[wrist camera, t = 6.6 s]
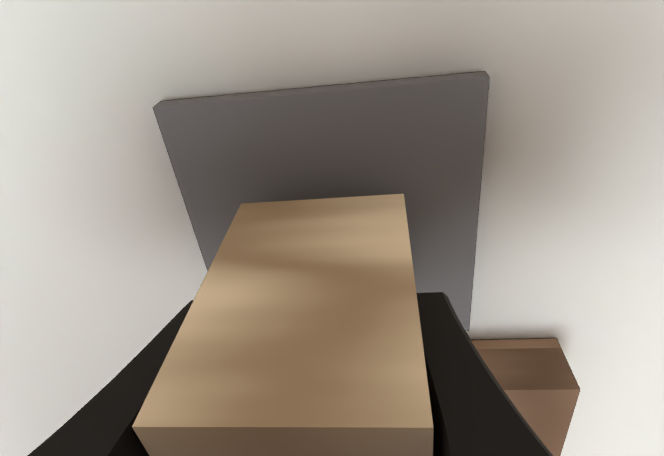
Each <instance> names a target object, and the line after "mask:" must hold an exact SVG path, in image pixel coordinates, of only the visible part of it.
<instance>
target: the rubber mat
mask: <svg viewBox="0 0 664 456" xmlns="http://www.w3.org/2000/svg"><path fill="white" fill-rule="evenodd" d="M489 78H490V77H489V76H488V74H487V73H486V72H485V71H482V72H471V73H461V74H450V75H439V76H428V77H417V78H406V79H396V80H385V81H374V82H363V83H352V84H341V85H330V86H320V87H309V88H298V89H287V90H276V91H265V92H255V93H244V94H233V95H222V96H211V97H200V98H189V99H179V100H168V101H160V102H159V103H158V104H156V105H155V106H154V107H153V110H154V113H155V116H156V119H157V122H158V125H159V128H160V131H161V134H162V137H163V140H164V143H165V146H166V149H167V152H168V155H169V158H170V161H171V164H172V167H173V170H174V173H175V176H176V179H177V182H178V185H179V187H180V190H181V193H182V196H183V199H184V202H185V205H186V208H187V211H188V214H189V217H190V220H191V223H192V226H193V229H194V232H195V235H196V238H197V241H198V244H199V247H200V250H201V253H202V256H203V259H204V262H205V265H206V268H207V271H208V270H209V268H210V266H211V264H212V262H213V260H214V258H215V256H216V254H217V252H218V250H219V248H220V245H221V243H222V241H223V239H224V237H225V235H226V233H227V231H228V229H229V227H230V225H231V223H232V221H233V219H234V217H235V215H236V213H237V211H238V209H239V207H240V205H241V204H243V203H259V202H276V201H292V200H308V199H324V198H341V197H357V196H373V195H390V194H404V199H405V207H406V215H407V223H408V231H409V239H410V247H411V254H412V262H413V270H414V278H415V286H416V293H428V292H443V293H444V294H446V295H447V296H448V298H449V300H450V302H451V305H452V307H453V309H454V311H455V313H456V315H457V317H458V318H459V320H460V322H461V324H462V326H463V328H464V329H465V331H469V325H470V312H471V300H472V288H473V275H474V263H475V251H476V238H477V226H478V214H479V201H480V189H481V177H482V164H483V152H484V140H485V127H486V115H487V102H488V90H489Z"/></svg>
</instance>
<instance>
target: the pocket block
mask: <svg viewBox="0 0 664 456" xmlns="http://www.w3.org/2000/svg"><path fill="white" fill-rule="evenodd" d="M471 341H472V343H473V345H474V346H475V348H476V349H477V351H478V353H479V354H480V356H481V357H482V359H483V360H484V362H485V363H486V365H487V366H488V368H489V369H490V371H491V372H492V374H493V375H494V377H495V378H496V380H497V381H498V383H499V384H500V386H501V387H502V389H503V390H504V392H505V393H506V394H507V396H508V397H509V399H510V400H511V401H512V403H513V404H514V406H515V407H516V408H517V410H518V411H519V412H520V414H521V415H522V416H523V418H524V419H525V420H526V422H527V423H528V424H529V426H530V427H531V428H532V430H533V431H534V432H535V433H536V435H537V436H538V437H539V439H540V440H541V441H542V442H543V444H544V445H545V446H546V447H547V449H548V450H549V451H550V452H551V454H552V455H553V456H560V455H561V451H562V448H563V445H564V442H565V438H566V435H567V432H568V428H569V425H570V422H571V418H572V415H573V412H574V409H575V405H576V402H577V399H578V395H579V392H580V388H579V386H578V383H577V381H576V379H575V377H574V375H573V373H572V370H571V368H570V366H569V364H568V362H567V360H566V357H565V355H564V353H563V351H562V349H561V347H560V344H559V342H558V340H557V339H508V340H471Z"/></svg>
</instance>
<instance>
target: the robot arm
mask: <svg viewBox="0 0 664 456" xmlns="http://www.w3.org/2000/svg"><path fill="white" fill-rule="evenodd" d="M416 294H417V302H418V309H419V317H420V325H421V333H422V341H423V349H424V357H425V365H426V372H427V380H428V388H429V396H430V404H431V412H432V420H433V427H434V428H433V456H553V455H552V454H551V452H550V451H549V450H548V449H547V447H546V446H545V445H544V444H543V442H542V441H541V440H540V439H539V437H538V436H537V435H536V433H535V432H534V431H533V430H532V428H531V427H530V426H529V424H528V423H527V422H526V420H525V419H524V418H523V416H522V415H521V414H520V412H519V411H518V410H517V408H516V407H515V406H514V404H513V403H512V401H511V400H510V399H509V397H508V396H507V394H506V393H505V392H504V390H503V389H502V387H501V386H500V384H499V383H498V381H497V380H496V378H495V377H494V375H493V374H492V372H491V371H490V369H489V368H488V366H487V365H486V363H485V362H484V360H483V359H482V357H481V356H480V354H479V353H478V351H477V349H476V348H475V346H474V345H473V343H472V341H471V340H470V338H469V336H468V334H467V333H466V331H465V329H464V328H463V326H462V324H461V322H460V320H459V318H458V317H457V315H456V313H455V311H454V309H453V307H452V305H451V302H450V300H449V298H448V296H447V295H446V294H444V293H443V292H428V293H416ZM193 301H194V300H191V301H190V302H189V303H188V304H187V305H186V306H185V307H184V308H183V309H182V310H181V311H180V312H179V313H178V314H177V315H176V316H175V317H174V318H173V319H172V320H171V321H170V322H169V323H168V324H167V325H166V326H165V327H164V328H163V329H162V330H161V331H160V333H159V334H158V335H157V336H156V337H155V338H154V339H153V340H152V341H151V342H150V343H149V344H148V345H147V346H146V347H145V348H144V349H143V350H142V351H141V352H140V353H139V354H138V355H137V356H136V357H135V358H134V359H133V360H132V361H131V362H130V363H129V364H128V365H127V366H126V367H125V368H124V369H123V370H122V371H121V372H120V373H119V374H118V375H117V376H116V377H115V378H114V379H113V380H112V381H111V382H110V383H108V384H107V385H106V386H105V387H104V388H103V389H102V390H101V391H100V392H99V393H98V394H97V395H95V396H94V397H93V398H92V399H91V400H90V401H89V402H88V403H87V404H86V405H85V406H84V407H83V408H81V409H80V410H79V411H78V412H77V413H76V414H75V415H74V416H73V417H72V418H71V419H70V420H68V421H67V422H66V423H65V424H64V425H63V426H62V427H61V428H60V429H58V430H57V431H56V432H55V433H54V434H53V435H52V436H50V437H49V438H48V439H47V440H46V441H44V442H43V443H42V444H41V445H40V446H39V447H37V448H36V449H35V450H34V451H33V452H31V453H30V454H29V455H28V456H149V454H148V453H147V451H146V449H145V448H144V446H143V444H142V443H141V441H140V439H139V438H138V436H137V434H136V433H135V431H134V429H133V428H132V426H133V424H134V422H135V420H136V418H137V416H138V413H139V411H140V409H141V407H142V405H143V403H144V401H145V399H146V397H147V395H148V393H149V391H150V389H151V387H152V385H153V383H154V381H155V379H156V377H157V375H158V372H159V370H160V368H161V366H162V364H163V362H164V360H165V358H166V356H167V354H168V352H169V350H170V348H171V346H172V344H173V342H174V340H175V338H176V336H177V334H178V332H179V329H180V327H181V325H182V323H183V321H184V319H185V317H186V315H187V313H188V311H189V309H190V307H191V305H192V303H193Z"/></svg>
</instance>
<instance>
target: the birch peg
mask: <svg viewBox="0 0 664 456" xmlns="http://www.w3.org/2000/svg"><path fill="white" fill-rule="evenodd" d="M132 428H133V429H134V431H135V433H136V434H137V436H138V438H139V439H140V441H141V443H142V444H143V446H144V448H145V449H146V451H147V453H148V454H149V456H433V428H434V427H433V420H432V412H431V404H430V396H429V388H428V380H427V372H426V365H425V357H424V349H423V341H422V333H421V325H420V317H419V309H418V302H417V294H416V286H415V278H414V270H413V262H412V254H411V247H410V239H409V231H408V223H407V215H406V207H405V199H404V194H390V195H373V196H357V197H341V198H324V199H308V200H292V201H276V202H259V203H243V204H241V205H240V207H239V209H238V211H237V213H236V215H235V217H234V219H233V221H232V223H231V225H230V227H229V229H228V231H227V233H226V235H225V237H224V239H223V241H222V243H221V245H220V248H219V250H218V252H217V254H216V256H215V258H214V260H213V262H212V264H211V266H210V268H209V270H208V272H207V274H206V276H205V278H204V280H203V282H202V284H201V286H200V288H199V291H198V293H197V295H196V297H195V299H194V301H193V303H192V305H191V307H190V309H189V311H188V313H187V315H186V317H185V319H184V321H183V323H182V325H181V327H180V329H179V332H178V334H177V336H176V338H175V340H174V342H173V344H172V346H171V348H170V350H169V352H168V354H167V356H166V358H165V360H164V362H163V364H162V366H161V368H160V370H159V372H158V375H157V377H156V379H155V381H154V383H153V385H152V387H151V389H150V391H149V393H148V395H147V397H146V399H145V401H144V403H143V405H142V407H141V409H140V411H139V413H138V416H137V418H136V420H135V422H134V424H133V426H132Z"/></svg>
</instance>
